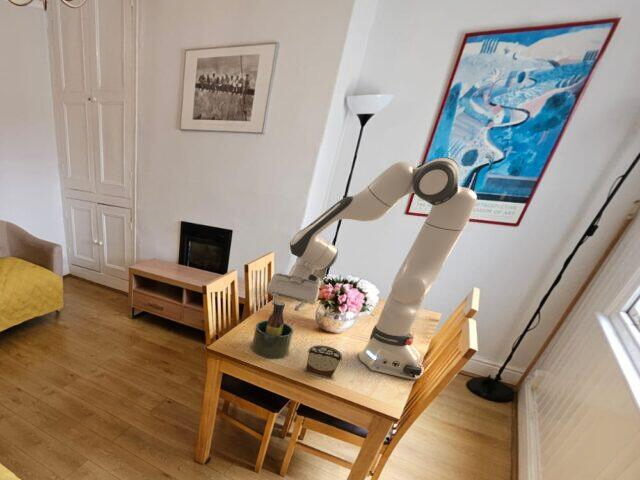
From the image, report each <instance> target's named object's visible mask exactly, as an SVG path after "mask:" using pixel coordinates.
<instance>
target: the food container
mask: <svg viewBox="0 0 640 480" xmlns="http://www.w3.org/2000/svg"><path fill="white" fill-rule="evenodd" d="M306 354H308V355H307V359H306V365H305V371H304V372H305V373H308V374H312V375H316V376H319V377H323V378H327V379H329V380H331V379H332V378H333V376H334V374H335V372H336V370H337V369H338V366H339V364H340V363H342V362H343V354H342V352H341V351H339V350H338V349H336V348H334V347H332V346H328V345H323V344H321V345H313V346H311V347H310V348H309V349H308V350H307V351H306Z"/></svg>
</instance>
